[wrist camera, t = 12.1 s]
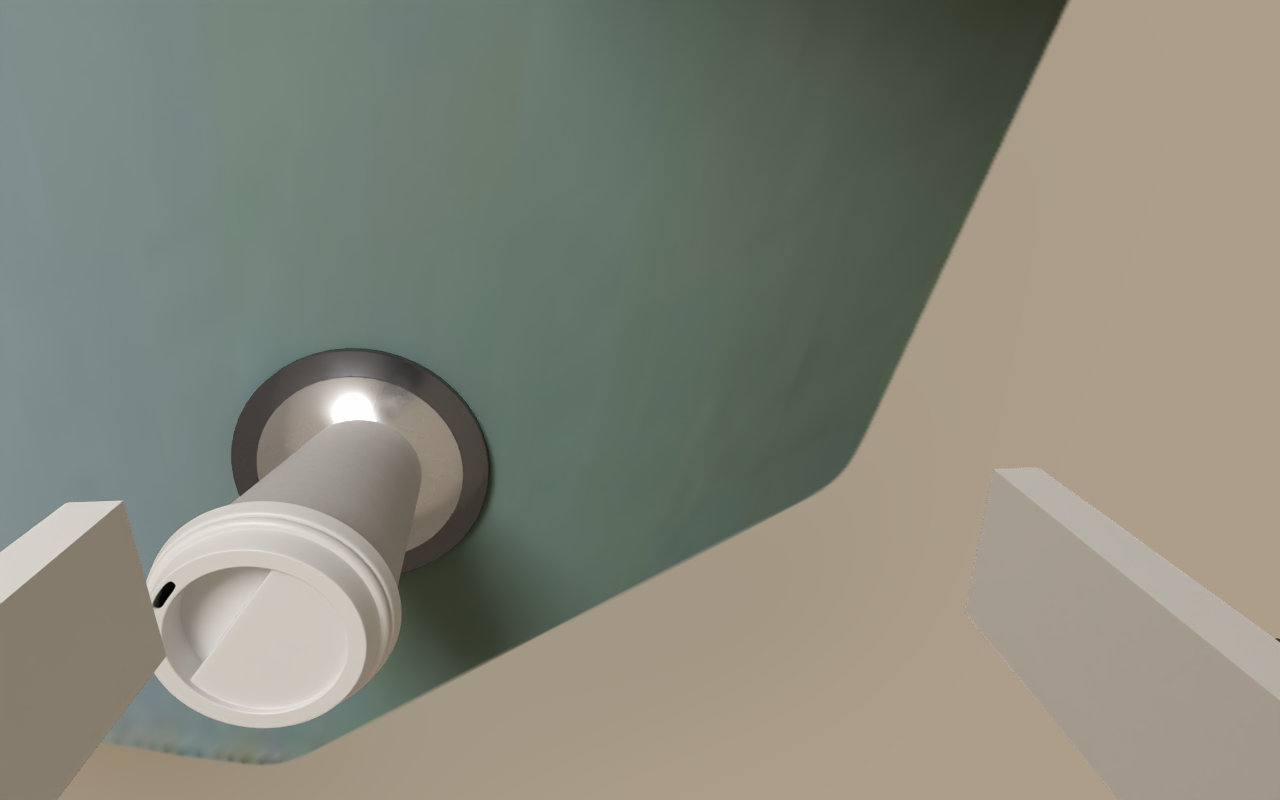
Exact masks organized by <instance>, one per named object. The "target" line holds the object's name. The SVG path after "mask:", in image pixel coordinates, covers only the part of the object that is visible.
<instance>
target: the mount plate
mask: <svg viewBox="0 0 1280 800" xmlns="http://www.w3.org/2000/svg"><path fill="white" fill-rule="evenodd" d="M357 419H358V420H369V421H374V422H378V423H381V424H384V425H386V426H388V427H390V428H392V429H394V430H395V431H397V432H398V433H399V434H401V435H402V436H403V437H404V438H405V439H406V440H407V441H408V442H409V443H410V444H411V446H412V447H413V449H414V450H415V452H416V454H417V456H418V458H419V461H420V465H421V471H422V481H421V487H420V491H419V496H418V500H417V504H416V509H415V513H414V517H413V522H412V526H411V530H410V535H409V539H408V543H407V548H406V552H405V556H404V561H403V565H402V570H401V573H404V572H408V571H411V570H414V569H417V568H419V567H422V566H425V565H427V564H428V563H430V562H432V561H434V560H436V559H438V558H439V557H441V556H442V555H444V554H445V553H447V552H448V551H450V550H451V549H452V548H453V547H454V546H455V545H456V544H457V543H458V542H460V540H461V539H462V538H463V537H464V536H465V535H466V533H467V532H468V531H469V530H470V528H471V527H472V525H473V523H474V522H475V520H476V519H477V517H478V514H479V512H480V510H481V508H482V505H483V502H484V498H485V494H486V491H487V485H488V477H489V458H488V452H487V446H486V442H485V439H484V436H483V433H482V430H481V428H480V426H479V424H478V422H477V419H476V417H475V416H474V414H473V413H472V411H471V409H470V408H469V406H468V405H467V403H466V402H465V401H464V400H463V399H462V398H461V396H460V395H459V394H458V393H457V392H456V391H455V390H454V389H453V388H452V387H451V386H450V385H449V384H448V383H447V382H445V381H444V380H443V379H442V378H440V377H439V376H437V375H436V374H435V373H433V372H432V371H430V370H429V369H427V368H425V367H423V366H421V365H419V364H418V363H416V362H414V361H411V360H408V359H406V358H403V357H401V356H398V355H394V354H391V353H387V352H383V351H377V350H370V349H356V348H345V349H335V350H328V351H324V352H319V353H315V354H312V355H309V356H306V357H304V358H301V359H299V360H296V361H295V362H293V363H291V364H289V365H287V366H285V367H284V368H282V369H281V370H279V371H278V372H277V373H275V374H274V375H273V376H271V377H270V378H269V379H267V380H266V381H265V382H264V383H263V384H262V385H261V386H260V387H259V388H258V389H257V390H256V391H255V392H254V394H253V395H252V396H251V398H250V399H249V401H248V402H247V403H246V405H245V407H244V409H243V411H242V413H241V414H240V416H239V418H238V422H237V425H236V428H235V431H234V435H233V441H232V450H231V463H232V470H233V476H234V480H235V484H236V487H237V490H238V493H239V495H240V496H241V495H243V494H244V493H245V492H246V491H248V490H249V489H250V488H251V487H253V486H254V485H255V484H256V483H258V482H259V481H260V480H261V479H263V478H264V477H265V476H266V475H268V474H269V473H270V472H271V471H273V470H274V469H275V468H276V467H277V466H279V465H280V464H281V463H282V462H284V461H285V460H286V459H287V458H289V457H290V456H291V455H292V454H294V453H295V452H296V451H297V450H299V449H300V448H301V447H302V446H303V445H305V444H306V443H307V442H308V441H310V440H311V439H312V438H313V437H315V436H316V435H317V434H318V433H320V432H321V431H322V430H324V429H325V428H327V427H329V426H331V425H333V424H335V423H338V422H342V421H346V420H357Z"/></svg>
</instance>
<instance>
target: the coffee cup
mask: <svg viewBox="0 0 1280 800" xmlns="http://www.w3.org/2000/svg"><path fill="white" fill-rule="evenodd" d="M421 481H422V471H421V465H420V461H419V458H418V456H417V454H416V452H415V450H414V449H413V447H412V446H411V444H410V443H409V442H408V441H407V440H406V439H405V438H404V437H403V436H402V435H401V434H399V433H398V432H397V431H395V430H394V429H392V428H390V427H388V426H386V425H384V424H381V423H378V422H374V421H369V420H358V419H357V420H346V421H342V422H338V423H335V424H333V425H331V426H329V427H327V428H325V429H324V430H322V431H321V432H320V433H318V434H317V435H316V436H315V437H313V438H312V439H311V440H310V441H308V442H307V443H306V444H305V445H303V446H302V447H301V448H300V449H299V450H297V451H296V452H295V453H294V454H292V455H291V456H290V457H289V458H287V459H286V460H285V461H284V462H282V463H281V464H280V465H279V466H277V467H276V468H275V469H274V470H273V471H271V472H270V473H269V474H268V475H266V476H265V477H264V478H263V479H261V480H260V481H259V482H258V483H256V484H255V485H254V486H253V487H251V488H250V489H249V490H248V491H246V492H245V493H244V494H243V495H241V496H240V497H239V498H238V499H236V500H235V501H234V502H233V503H231V504H230V505H227V506H223V507H220V508H217V509H214V510H211V511H209V512H206V513H204V514H202V515H200V516H198V517H196V518H195V519H193V520H191V521H190V522H188V523H187V524H185V525H184V526H183V527H181V528H180V529H179V530H178V531H177V532H175V533H174V534H173V535H172V536H171V537H170V538H169V540H168V541H167V542H166V543H165V544H164V546H163V547H162V549H161V550H160V552H159V553H158V555H157V557H156V559H155V561H154V563H153V566H152V568H151V570H150V573H149V575H148V578H147V581H146V584H147V588H148V592H149V595H150V599H151V602H152V606H153V610H154V613H155V617H156V620H157V624H158V628H159V631H160V635H161V638H162V642H163V645H164V649H165V653H166V657H165V659H164V660H163V661H162V663H161V664H160V665H159V666H158V668H157V669H156V670H155V672H154V673H155V675H156V676H157V678H158V679H159V680H160V682H161V683H162V684H163V685H164V686H165V687H166V689H167V690H168V691H169V692H171V693H172V694H173V695H174V696H175V697H176V698H177V699H179V700H180V701H181V702H183V703H184V704H186V705H187V706H189V707H190V708H192V709H194V710H195V711H197V712H199V713H201V714H203V715H205V716H208V717H210V718H213V719H215V720H218V721H221V722H225V723H228V724H232V725H237V726H243V727H252V728H277V727H285V726H291V725H295V724H299V723H303V722H306V721H308V720H311V719H314V718H316V717H318V716H320V715H322V714H324V713H326V712H327V711H329V710H331V709H332V708H333V707H335V706H336V705H337V704H339V703H340V702H342V701H344V700H346V699H347V698H349V697H350V696H352V695H353V694H354V693H356V692H357V691H358V690H359V689H361V688H362V687H363V686H364V685H365V684H367V683H368V682H369V681H370V680H371V679H372V678H373V677H374V675H375V674H376V673H377V672H378V671H379V669H380V668H381V667H382V666H383V665H384V663H385V662H386V661H387V659H388V658H389V656H390V654H391V652H392V651H393V649H394V646H395V644H396V641H397V639H398V635H399V631H400V626H401V616H402V611H401V600H400V595H399V591H398V583H399V579H400V574H401V570H402V565H403V561H404V556H405V552H406V548H407V543H408V539H409V535H410V530H411V526H412V522H413V517H414V513H415V509H416V504H417V500H418V496H419V491H420V487H421Z"/></svg>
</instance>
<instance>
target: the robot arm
mask: <svg viewBox="0 0 1280 800" xmlns="http://www.w3.org/2000/svg"><path fill="white" fill-rule="evenodd" d="M965 613H966V615H967V616H968V617H969V618H970V620H971V621H972V622H973V623H974V624H975V626H976V627H977V628H978V629H979V631H980V632H981V633H982V634H983V635H984V637H985V638H986V639H987V640H988V642H989V643H990V644H991V645H992V647H993V648H994V649H995V650H996V651H997V653H998V654H999V655H1000V656H1001V658H1002V659H1003V660H1004V661H1005V663H1006V664H1007V665H1008V666H1009V667H1010V669H1011V670H1012V671H1013V672H1014V674H1015V675H1016V676H1017V677H1018V678H1019V680H1020V681H1021V682H1022V683H1023V685H1024V686H1025V687H1026V688H1027V690H1028V691H1029V692H1030V693H1031V694H1032V696H1033V697H1034V698H1035V699H1036V701H1037V702H1038V703H1039V704H1040V706H1041V707H1042V708H1043V709H1044V710H1045V712H1046V713H1047V714H1048V715H1049V717H1050V718H1051V719H1052V720H1053V722H1054V723H1055V724H1056V725H1057V726H1058V728H1059V729H1060V730H1061V731H1062V733H1063V734H1064V735H1065V736H1066V737H1067V739H1068V740H1069V741H1070V742H1071V743H1072V745H1073V746H1074V747H1075V749H1076V750H1077V751H1078V752H1079V753H1080V755H1081V756H1082V757H1083V758H1084V760H1085V761H1086V762H1087V763H1088V765H1089V766H1090V767H1091V768H1092V769H1093V770H1094V772H1095V773H1096V774H1097V776H1098V777H1099V778H1100V779H1101V781H1102V782H1103V783H1104V784H1105V785H1106V787H1107V788H1108V789H1109V790H1110V792H1111V793H1112V794H1113V795H1114V797H1115V798H1116V799H1117V800H1280V639H1277V638H1276V639H1275V638H1273V637H1271V636H1270V635H1269V634H1268V633H1266V632H1265V631H1263V630H1262V629H1261V628H1259V627H1258V626H1257V625H1255V624H1254V623H1252V622H1251V621H1250V620H1248V619H1247V618H1246V617H1244V616H1243V615H1241V614H1240V613H1239V612H1237V611H1236V610H1235V609H1233V608H1232V607H1230V606H1229V605H1228V604H1226V603H1225V602H1224V601H1222V600H1221V599H1219V598H1218V597H1217V596H1215V595H1214V594H1213V593H1211V592H1210V591H1208V590H1207V589H1206V588H1204V587H1203V586H1202V585H1200V584H1199V583H1197V582H1196V581H1195V580H1193V579H1192V578H1190V577H1189V576H1188V575H1186V574H1185V573H1184V572H1182V571H1181V570H1179V569H1178V568H1177V567H1175V566H1174V565H1172V564H1171V563H1170V562H1168V561H1167V560H1166V559H1164V558H1163V557H1162V556H1160V555H1159V554H1157V553H1156V552H1155V551H1153V550H1152V549H1151V548H1149V547H1148V546H1146V545H1145V544H1143V543H1142V542H1141V541H1139V540H1138V539H1137V538H1135V537H1134V536H1133V535H1131V534H1130V533H1128V532H1127V531H1126V530H1124V529H1123V528H1122V527H1120V526H1119V525H1118V524H1116V523H1115V522H1113V521H1112V520H1111V519H1109V518H1108V517H1107V516H1105V515H1104V514H1102V513H1101V512H1100V511H1098V510H1097V509H1095V508H1094V507H1093V506H1091V505H1090V504H1089V503H1087V502H1086V501H1084V500H1083V499H1082V498H1080V497H1079V496H1077V495H1076V494H1075V493H1073V492H1072V491H1071V490H1069V489H1068V488H1067V487H1065V486H1064V485H1062V484H1061V483H1060V482H1058V481H1057V480H1056V479H1054V478H1052V477H1051V476H1050V475H1049V474H1047V473H1046V472H1044V471H1043V470H1042V469H1040V468H1038V467H1035V468H1034V467H1033V468H1007V469H993V473H992V479H991V484H990V488H989V494H988V498H987V503H986V509H985V513H984V518H983V523H982V528H981V533H980V538H979V543H978V548H977V553H976V558H975V563H974V569H973V574H972V579H971V583H970V589H969V594H968V599H967V603H966V608H965ZM165 657H166V653H165V649H164V645H163V642H162V638H161V635H160V631H159V628H158V624H157V620H156V617H155V613H154V610H153V606H152V602H151V599H150V595H149V592H148V588H147V584H146V581H145V577H144V574H143V570H142V567H141V563H140V559H139V556H138V552H137V549H136V545H135V541H134V538H133V534H132V531H131V527H130V523H129V520H128V516H127V513H126V509H125V506H124V502H123V501H101V502H73V503H65V504H64V505H63V506H61V507H60V508H59V509H57V510H56V511H55V512H53V513H52V514H51V515H49V516H48V517H47V518H45V519H44V520H43V521H41V522H40V523H39V524H37V525H36V526H35V527H33V528H32V529H31V530H29V531H28V532H27V533H25V534H24V535H23V536H21V537H20V538H19V539H17V540H16V541H15V542H13V543H12V544H11V545H9V546H8V547H7V548H5V549H4V550H3V551H1V552H0V800H57V799H58V798H59V797H60V795H61V794H62V793H63V791H64V790H65V789H66V788H67V786H68V785H69V784H70V782H71V781H72V780H73V778H74V777H75V776H76V774H77V773H78V772H79V770H80V769H81V768H82V766H83V765H84V764H85V763H86V761H87V760H88V759H89V757H90V756H91V755H92V753H93V752H94V751H95V749H96V748H97V747H98V745H99V744H100V743H101V741H102V740H103V739H104V738H105V736H106V735H107V734H108V732H109V731H110V730H111V728H112V727H113V726H114V724H115V723H116V722H117V720H118V719H119V718H120V716H121V715H122V714H123V713H124V711H125V710H126V709H127V707H128V706H129V705H130V703H131V702H132V701H133V699H134V698H135V697H136V695H137V694H138V693H139V691H140V690H141V689H142V688H143V686H144V685H145V684H146V682H147V681H148V680H149V678H150V677H151V676H152V674H153V673H154V672H155V670H156V669H157V668H158V666H159V665H160V664H161V663H162V661H163V660H164V659H165Z"/></svg>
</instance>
